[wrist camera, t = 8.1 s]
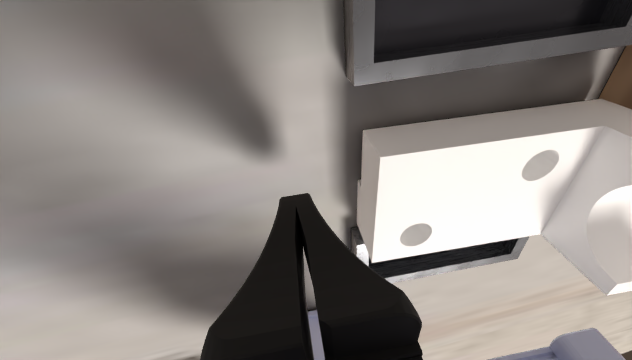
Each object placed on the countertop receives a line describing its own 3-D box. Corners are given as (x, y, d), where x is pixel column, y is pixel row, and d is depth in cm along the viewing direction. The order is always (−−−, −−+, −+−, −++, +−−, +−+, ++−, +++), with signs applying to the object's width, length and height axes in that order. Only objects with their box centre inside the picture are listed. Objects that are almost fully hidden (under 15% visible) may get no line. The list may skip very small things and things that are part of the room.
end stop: (569, 188, 20) (603, 212, 18) (549, 192, 19) (581, 216, 17) (660, 29, 14) (729, 38, 12) (632, 33, 13) (696, 43, 12)
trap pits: (503, 243, 22) (517, 258, 21) (352, 272, 22) (357, 289, 20) (667, -109, 10) (720, -120, 9) (341, -71, 10) (351, -78, 8)
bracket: (585, 92, 15) (790, 166, 9) (534, 191, 20) (654, 286, 14) (357, 122, 14) (424, 225, 8) (355, 219, 19) (398, 335, 13)
